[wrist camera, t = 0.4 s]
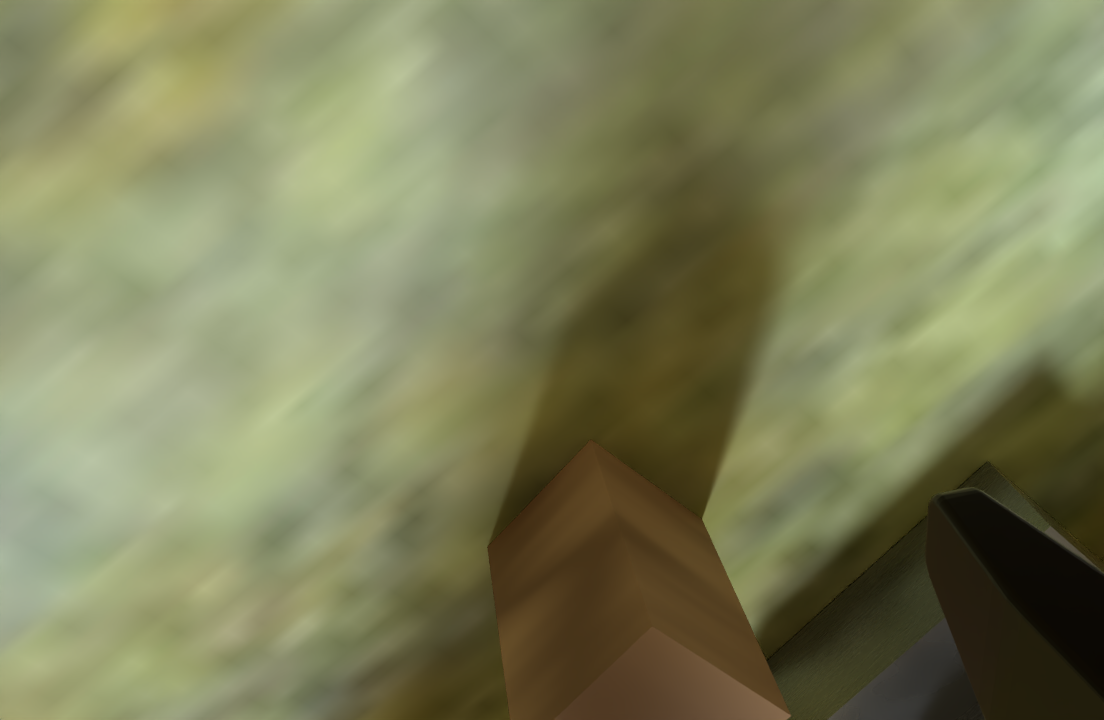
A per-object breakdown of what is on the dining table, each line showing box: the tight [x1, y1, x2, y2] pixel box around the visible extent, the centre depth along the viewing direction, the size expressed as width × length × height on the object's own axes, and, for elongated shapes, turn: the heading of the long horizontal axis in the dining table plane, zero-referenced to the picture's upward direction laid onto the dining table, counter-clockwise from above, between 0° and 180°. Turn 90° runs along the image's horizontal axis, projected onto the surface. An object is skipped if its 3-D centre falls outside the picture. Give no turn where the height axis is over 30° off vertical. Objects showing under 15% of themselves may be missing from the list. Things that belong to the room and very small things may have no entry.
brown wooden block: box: [487, 440, 791, 720], centre depth 24 cm, size 4×4×7 cm
